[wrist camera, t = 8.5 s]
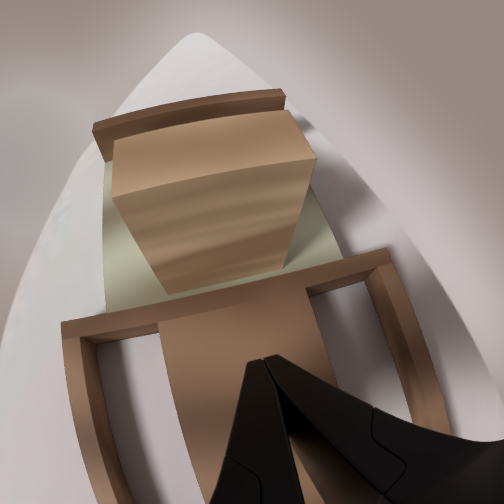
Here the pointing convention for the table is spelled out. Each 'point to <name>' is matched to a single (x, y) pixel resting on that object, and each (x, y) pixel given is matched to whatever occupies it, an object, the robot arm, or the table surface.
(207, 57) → the table surface
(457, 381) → the table surface
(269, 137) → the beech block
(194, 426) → the brown wooden flat frame
